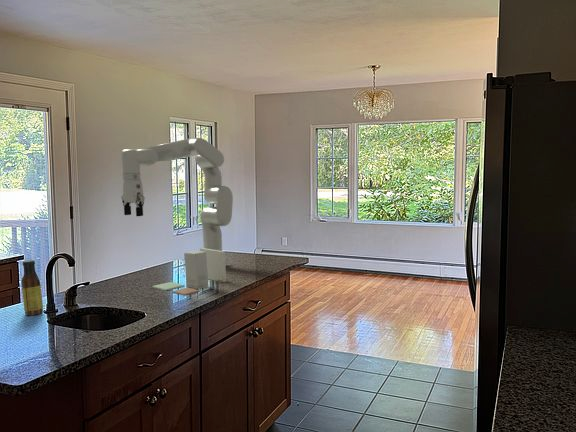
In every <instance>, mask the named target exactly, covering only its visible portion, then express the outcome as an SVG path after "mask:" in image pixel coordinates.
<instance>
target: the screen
mask: <svg viewBox="0 0 576 432" xmlns="http://www.w3.org/2000/svg"><path fill="white" fill-rule="evenodd" d="M199 251H203V252H206V256H207V271H208V280H210V281H214V282H215V281H216V282H217V283H227V281H228V280H227V279H228V278H227V272H226V271H227V270H226V269H227V267H226V266H227V265H226V262H225V258H226V251H224V250H222V251H219V250H212V249H206V248H203V247H201V248H199Z"/></svg>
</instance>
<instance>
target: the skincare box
mask: <svg viewBox="0 0 576 432" xmlns="http://www.w3.org/2000/svg"><path fill="white" fill-rule="evenodd" d="M183 255H184V256H183V257H184V267H185V280H186V281H185V282H186V288H192V289H196V290H199V289H200V290H201V289H203V288H207V287H209V279H208V271H207V256H206V252H203V251H200V250H191V251H186V252H184V253H183Z"/></svg>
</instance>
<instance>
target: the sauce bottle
mask: <svg viewBox="0 0 576 432" xmlns="http://www.w3.org/2000/svg"><path fill="white" fill-rule="evenodd" d="M35 264H36V261H35V260H34V259H28V260H22V266H23V277H22V279H21V289H22V290H21V291H22V292H21V293H22V300H23V309H24V314H25V316H36V314H38V315H40V314H43V312H44V310H43V309H44V304H43V295H42V293H43V292H42V287H41V286H42V285H41V281H40V278H39V276H38V274H37V272H36V268H35V267H36V266H35Z"/></svg>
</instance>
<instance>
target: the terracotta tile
mask: <svg viewBox="0 0 576 432" xmlns="http://www.w3.org/2000/svg"><path fill="white" fill-rule="evenodd" d="M195 292H196V293H199V292H200V290H199V289H196V288H191V287H183V288H181V289H176V290H172V294H177V295H180V296H186V295H187V296H188V295H192V294H195ZM191 293H192V294H191Z"/></svg>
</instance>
